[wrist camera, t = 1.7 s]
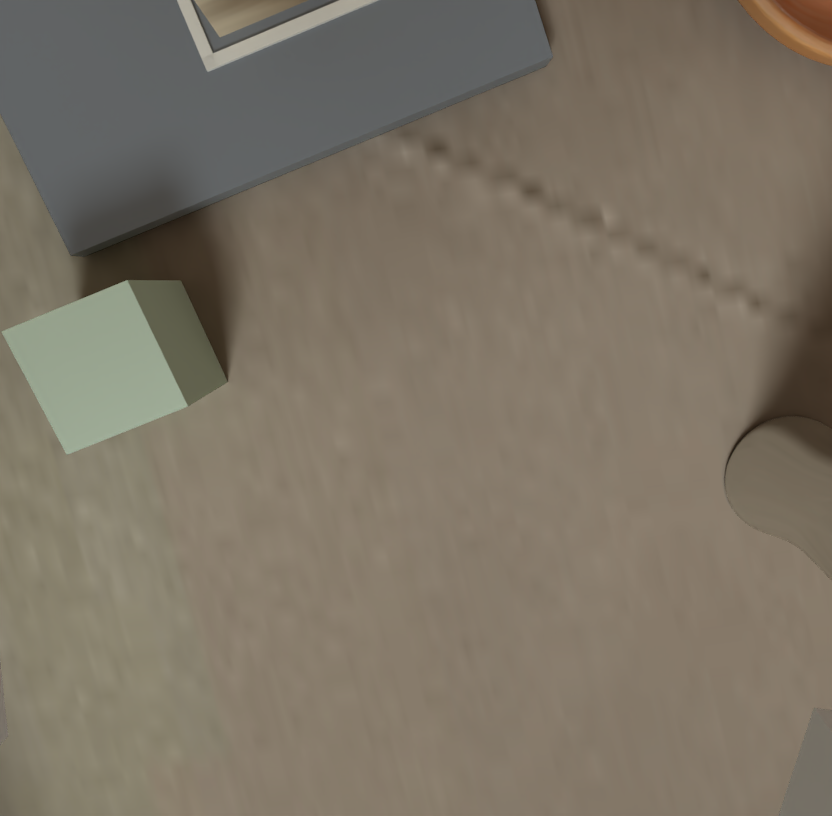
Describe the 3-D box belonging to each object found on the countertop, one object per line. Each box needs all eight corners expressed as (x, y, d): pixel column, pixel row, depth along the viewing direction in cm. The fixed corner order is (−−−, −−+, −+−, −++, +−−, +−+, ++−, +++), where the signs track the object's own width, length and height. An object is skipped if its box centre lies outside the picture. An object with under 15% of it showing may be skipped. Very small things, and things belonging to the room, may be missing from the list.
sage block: (130, 420, 30) (66, 455, 24) (80, 321, 29) (1, 331, 23) (228, 381, 30) (188, 406, 24) (181, 280, 29) (127, 280, 23)
